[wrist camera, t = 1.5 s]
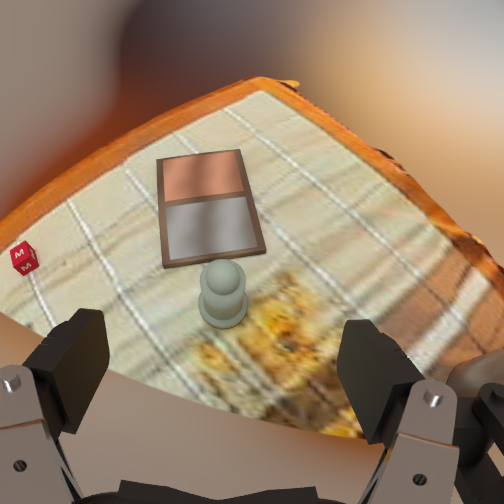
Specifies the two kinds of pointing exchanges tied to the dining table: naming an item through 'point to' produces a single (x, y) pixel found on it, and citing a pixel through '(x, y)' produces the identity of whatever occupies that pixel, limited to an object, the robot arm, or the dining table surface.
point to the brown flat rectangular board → (206, 209)
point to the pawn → (223, 294)
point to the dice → (24, 258)
